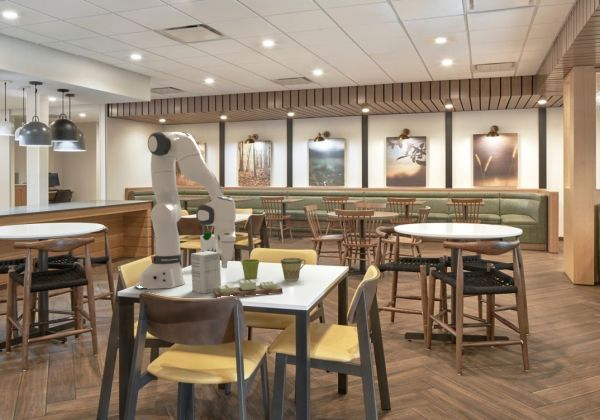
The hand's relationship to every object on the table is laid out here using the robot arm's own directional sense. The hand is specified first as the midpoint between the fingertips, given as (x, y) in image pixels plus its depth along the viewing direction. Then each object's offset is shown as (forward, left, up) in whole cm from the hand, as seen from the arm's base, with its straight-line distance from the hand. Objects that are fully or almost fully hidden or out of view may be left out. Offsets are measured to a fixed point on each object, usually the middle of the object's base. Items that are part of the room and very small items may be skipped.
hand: (224, 267), depth 211 cm
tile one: (+1, 0, -11) cm, 11 cm away
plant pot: (+18, +32, -12) cm, 38 cm away
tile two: (+10, 0, -9) cm, 14 cm away
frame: (+10, 0, -12) cm, 15 cm away
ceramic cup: (+37, +20, -12) cm, 43 cm away
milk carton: (+3, +72, -12) cm, 73 cm away
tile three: (+19, 0, -11) cm, 22 cm away
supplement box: (-6, +12, -12) cm, 18 cm away
